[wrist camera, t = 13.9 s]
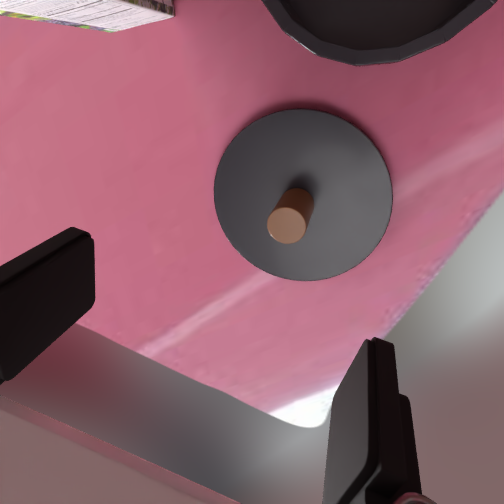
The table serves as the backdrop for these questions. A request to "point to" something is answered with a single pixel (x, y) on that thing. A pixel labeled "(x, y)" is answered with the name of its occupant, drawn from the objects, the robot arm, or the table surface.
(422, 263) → the table surface
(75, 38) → the table surface
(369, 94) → the table surface
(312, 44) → the pan
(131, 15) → the syrup box
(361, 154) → the lid
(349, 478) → the robot arm
